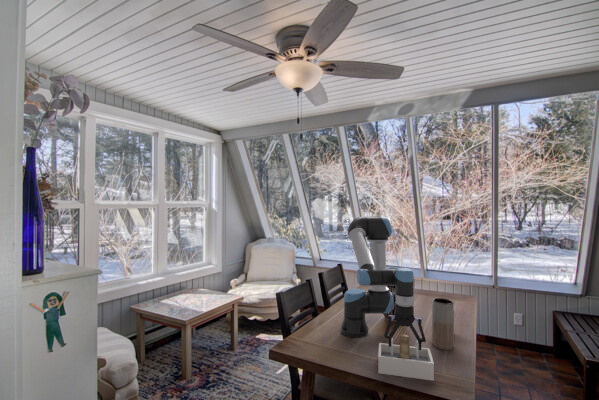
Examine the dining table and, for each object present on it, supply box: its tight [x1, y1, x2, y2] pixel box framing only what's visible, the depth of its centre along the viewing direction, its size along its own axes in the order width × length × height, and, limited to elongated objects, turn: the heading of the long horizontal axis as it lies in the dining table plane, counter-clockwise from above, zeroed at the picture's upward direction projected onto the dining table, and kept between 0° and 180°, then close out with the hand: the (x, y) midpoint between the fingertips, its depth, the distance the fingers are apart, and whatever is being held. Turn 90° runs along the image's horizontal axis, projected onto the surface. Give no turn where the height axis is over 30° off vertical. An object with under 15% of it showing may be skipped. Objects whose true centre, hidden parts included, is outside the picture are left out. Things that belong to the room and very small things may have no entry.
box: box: [377, 342, 435, 382], centre depth 140 cm, size 22×14×7 cm, turn 75°
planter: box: [431, 297, 455, 351], centre depth 163 cm, size 10×10×23 cm
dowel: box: [399, 334, 410, 359], centre depth 140 cm, size 4×4×14 cm
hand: (404, 355), depth 140 cm, fingers open, 10 cm apart
